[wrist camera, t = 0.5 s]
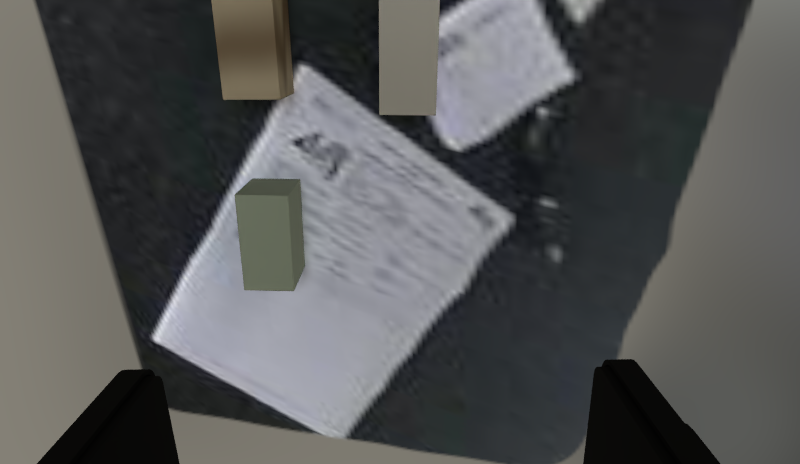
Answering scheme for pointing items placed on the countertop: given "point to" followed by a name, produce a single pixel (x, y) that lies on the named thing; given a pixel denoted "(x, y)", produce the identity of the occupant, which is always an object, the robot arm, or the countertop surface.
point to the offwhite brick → (408, 56)
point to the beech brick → (253, 49)
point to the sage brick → (270, 234)
